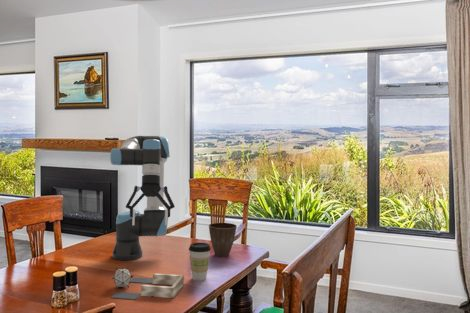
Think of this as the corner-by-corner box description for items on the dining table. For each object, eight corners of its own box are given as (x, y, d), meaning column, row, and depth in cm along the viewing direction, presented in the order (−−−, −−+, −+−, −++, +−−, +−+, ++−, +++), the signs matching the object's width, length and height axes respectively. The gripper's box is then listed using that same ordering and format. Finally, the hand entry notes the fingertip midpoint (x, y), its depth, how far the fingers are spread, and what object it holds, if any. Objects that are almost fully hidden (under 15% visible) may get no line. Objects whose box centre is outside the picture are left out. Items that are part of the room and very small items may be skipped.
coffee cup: (201, 283, 180) (202, 249, 179) (183, 279, 185) (184, 245, 185) (214, 277, 188) (215, 244, 188) (197, 273, 194) (197, 241, 193)
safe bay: (141, 295, 165) (141, 285, 165) (153, 282, 180) (153, 273, 180) (173, 298, 163) (173, 288, 163) (183, 284, 178) (183, 275, 178)
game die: (124, 297, 172) (125, 283, 166) (106, 288, 174) (107, 274, 168) (136, 281, 179) (137, 267, 173) (119, 272, 181) (120, 258, 175)
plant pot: (216, 249, 235) (216, 221, 234) (240, 253, 229) (241, 224, 228) (203, 256, 221) (203, 226, 221) (228, 260, 215) (229, 229, 214)
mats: (111, 298, 162) (111, 297, 162) (134, 277, 186) (134, 277, 186) (135, 299, 161) (135, 299, 161) (155, 279, 184) (155, 278, 184)
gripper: (121, 173, 172) (119, 225, 168) (181, 174, 180) (181, 224, 176) (120, 175, 179) (118, 225, 176) (178, 177, 187) (178, 225, 183)
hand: (149, 225), depth 176 cm, fingers open, 13 cm apart
